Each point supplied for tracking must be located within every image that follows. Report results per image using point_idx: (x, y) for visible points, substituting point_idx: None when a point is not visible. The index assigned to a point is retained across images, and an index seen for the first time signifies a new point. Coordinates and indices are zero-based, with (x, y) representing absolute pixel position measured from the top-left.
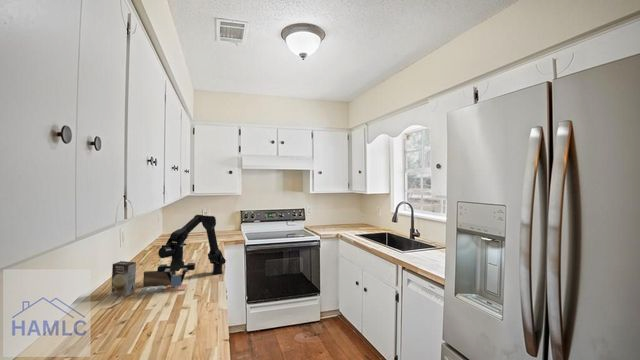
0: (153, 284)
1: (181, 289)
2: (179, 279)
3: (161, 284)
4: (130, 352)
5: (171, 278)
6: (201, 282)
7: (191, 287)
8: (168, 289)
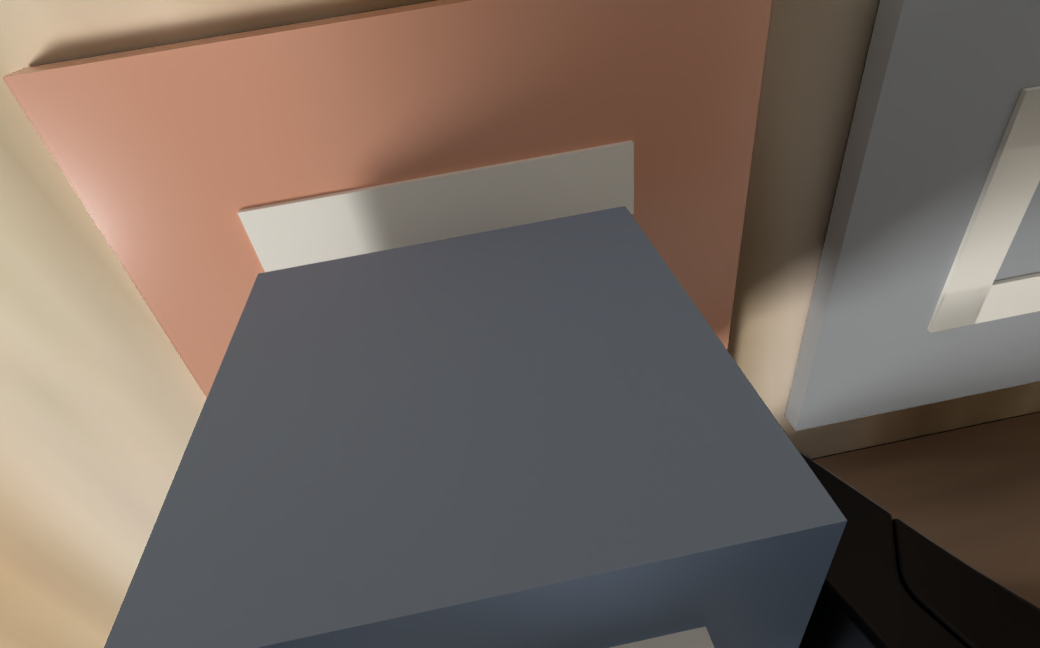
0: (1006, 448)
1: (168, 101)
2: (255, 472)
3: (848, 471)
4: None
5: (763, 448)
6: (51, 639)
7: (28, 372)
8: (660, 129)
